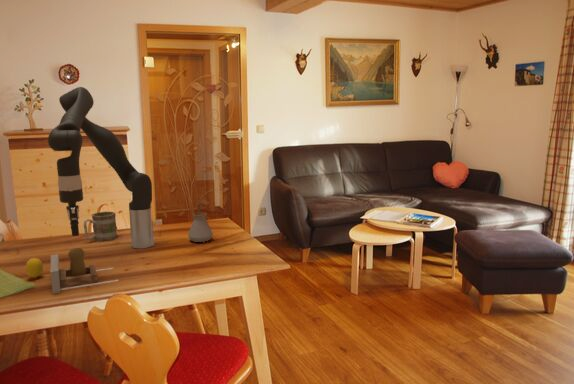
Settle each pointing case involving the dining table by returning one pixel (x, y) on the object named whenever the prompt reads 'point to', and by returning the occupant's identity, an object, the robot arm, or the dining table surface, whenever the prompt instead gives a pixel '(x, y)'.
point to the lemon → (34, 267)
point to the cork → (77, 262)
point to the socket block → (78, 277)
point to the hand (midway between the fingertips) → (75, 232)
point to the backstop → (56, 276)
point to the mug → (102, 226)
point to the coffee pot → (200, 227)
